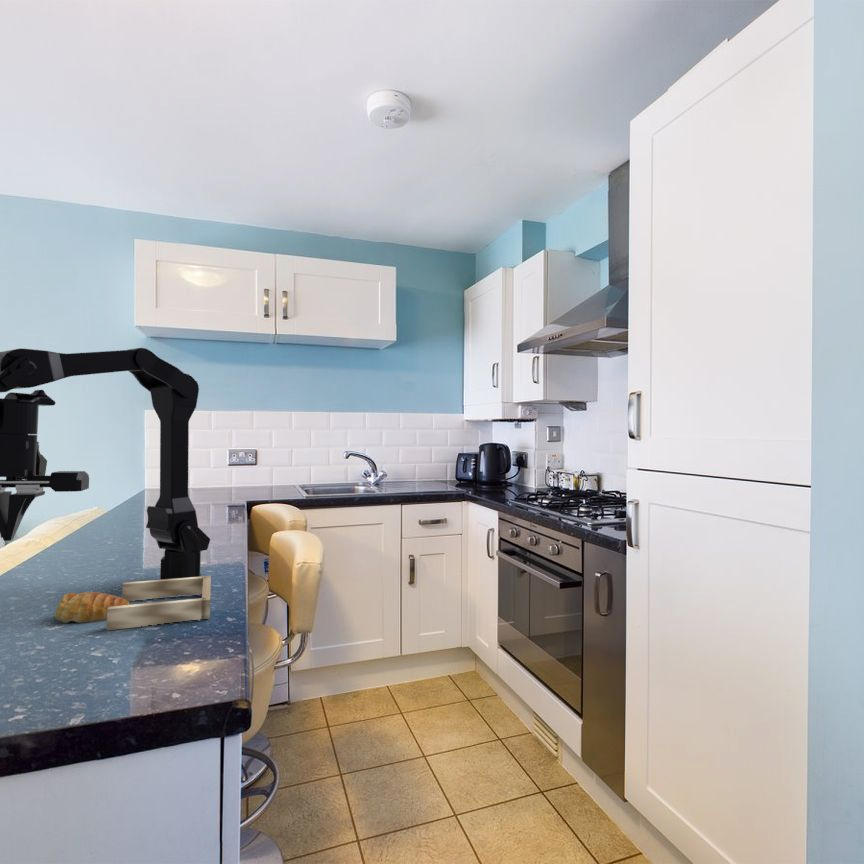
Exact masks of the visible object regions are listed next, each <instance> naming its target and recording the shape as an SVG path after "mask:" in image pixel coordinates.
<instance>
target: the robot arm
mask: <svg viewBox="0 0 864 864" xmlns="http://www.w3.org/2000/svg"><path fill="white" fill-rule="evenodd" d="M127 371H128V372H129V373H131V375H132V376H133V377H134V378H135V379H136V381H137V382H138V383H139V385H140V386H142V387H143V388H145V390H147V391H148V392H149V393H150V396H151V397H150V398H151V402H152V403H151V404H152V407H153V409H154V411H155V413H156V415H157V418H158V419H159V423H160V425H159V426H160V427H159V429H160V431H159V432H160V433H159V438H160V439H159V447H160V448H159V497H158V500H157V501H156V503H155V505H154V506H147V509H146V512H147V513H146V514H147V523H146V529H149V533H150V536H151V537H152V538H153V539H154V540H156V541H155V542H156V544H157V545H158V548H159V549H163V550H164V551H163V552H164V553H163V554H164V555H163V556H162V557H161V559H160V574H159V575H160V577H159V580H163V579H176V578H189V577H202V573H201V565H202V563H201V562H202V561H201V558H202V552H203V551H207V550H208V548H209V545H210V542H211V538H210V537H209V535H207V534H206V533H205V532H204V531H203V530H202V529H201V528H200V527H199V523H198V516H197V511H196V510H197V509H196V508H195V507H194V505H193V503H192V500H191V498H190V496H189V445H190V443H189V440H190V439H189V436H190V435H189V434H190V433H189V432H190V431H189V430H190V429H189V427H190V426H189V423H190V419H191V418H192V416H193V413H194V412H195V410H196V409H197V405H198V397H199V392H200V391H199V390H200V387H199V383H198V381H197V380H195V378H194V377H193V376H192V375H190V374H188V373H186V372H185V373H184V372H183V370H181V369H180V368H178V367H177V366H175V365H173V364H171V363H169V362H168V361H165V360H164V359H162V358H160V357H158V356H157V355H156V354H155V353H154V352H153V351H151V350H150V349H148V348H145V347H138V348H130V349H129V348H128V349H125V350H123V349H122V350H107V351H106V350H105V351H92V352H91V351H89V352H75V353H74V352H73V353H66V352H65V353H64V352H63V353H62V352H56V351H51V350H43V349H42V350H41V349H31V348H30V349H29V348H15V349H10V350H9V349H8V350H4V351H0V393H7V392H8V393H7V394H6V395H5V396H4V398H2V397H1V398H0V478H5V479H0V535H1V538H2V539H3V541H4V542H7V541H8V542H9V541H10V542H11V541H13V540H14V539H15V536H16V533H17V531H18V529H19V527H20V525H21V522H22V520H23V518H24V516H25V513H26V512H27V510H28V509H29V507H30V505H31V504H32V502H33V501H34V500H35V499H36V498H38V497H41V496H44V495H46V491H45V490H44V488H50V489H51V490H53V491H54V492H62V493H63V492H66V493H67V492H71V493H72V492H82V491H85V490H88V489H90V488H89V487H90V476H89V474H88V472H86V471H85V470H63V471H62V470H58V471H54V472H51V473H50V475H46V472H47V471H46V470H47V466H48V465H47V464H48V460H47V459H46V458H45V456H44V455H43V454H41V453H40V452H41V451H40V444H39V443H40V442H39V441H38V427H39V407H45V406H48V407H49V406H55V405H56V400H54V399H53V398H51V396H49V395H47V393H46V392H45V390H44V389H37V390H36V389H34V391H32V392H31V393H25V392H23V393H22V392H10V391H11V390H20V389H29V388H35V387H38V386H42V385H45V384H50V383H53V382H56V381H60V380H62V379H66V378H70V377H78V376H88V375H97V374H99V375H100V374H107V373H118V372H127ZM7 488H15V490H16V492H14V493H13V492H12V491H10V490H9V491H8V490H7V491H6V489H7Z"/></svg>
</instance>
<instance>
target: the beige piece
mask: <svg viewBox="0 0 864 864" xmlns="http://www.w3.org/2000/svg"><path fill="white" fill-rule="evenodd" d="M211 577H212V576H211V575H205V576H204V575H203V576H202V575H201V577H189V578H176V579H163V580H160V579H154V580H153V579H152V580H141V581H140V580H139V581H137V580H136V581H127V582H126V581H125V582H124V581H123V583H122V590H121V591H122V593H121V594H122V595H121V598H124V599H126V600H127V601H132V602H136V601H135V600H143V601H146V600H145V599H152V598H160V597H169V596H178V595H193V594H202V595H201V598H199V597H198V598H192V599H191V598H190V599H180V600H167V601H158V602H157V601H156V602H148V603H147V602H145V603H136V604H135V603H133V604H130V605H123V606H112V607H108V609H107V620H106V631H113V630H120V629H121V630H122V629H130V628H141V626H142V627H149V626H148V625H152V626H158V625H157V624H161V625H165V624H164V623H170V624H173V623H172V622H178V621H188V620H198V621H201V620H200V619H208V620H210V619H211V617H210V616H211V582H212V581H211V579H212V578H211Z"/></svg>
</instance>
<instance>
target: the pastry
mask: <svg viewBox="0 0 864 864" xmlns="http://www.w3.org/2000/svg"><path fill="white" fill-rule="evenodd" d="M123 605H131V602H129V601H127V600H126V599H124V598H122V597H119V596H118V595H117V596H116V595H112V594H109V593H100V592H99V591H92V592H89V591H83V592H81V593H75V592H68V593H65V594H64V595H63V596H62V598H61V599H60V600H59V603H58V605H57V607H56V610H55V615H54V618H55V619H56V620H57V621H59V622H61V623H63V624H68V623H69V622H76V623H87V622H91V623H92V622H99V621H101V620H102V621H107V609H108V607H112V606H123ZM102 621H101V622H102Z"/></svg>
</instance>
